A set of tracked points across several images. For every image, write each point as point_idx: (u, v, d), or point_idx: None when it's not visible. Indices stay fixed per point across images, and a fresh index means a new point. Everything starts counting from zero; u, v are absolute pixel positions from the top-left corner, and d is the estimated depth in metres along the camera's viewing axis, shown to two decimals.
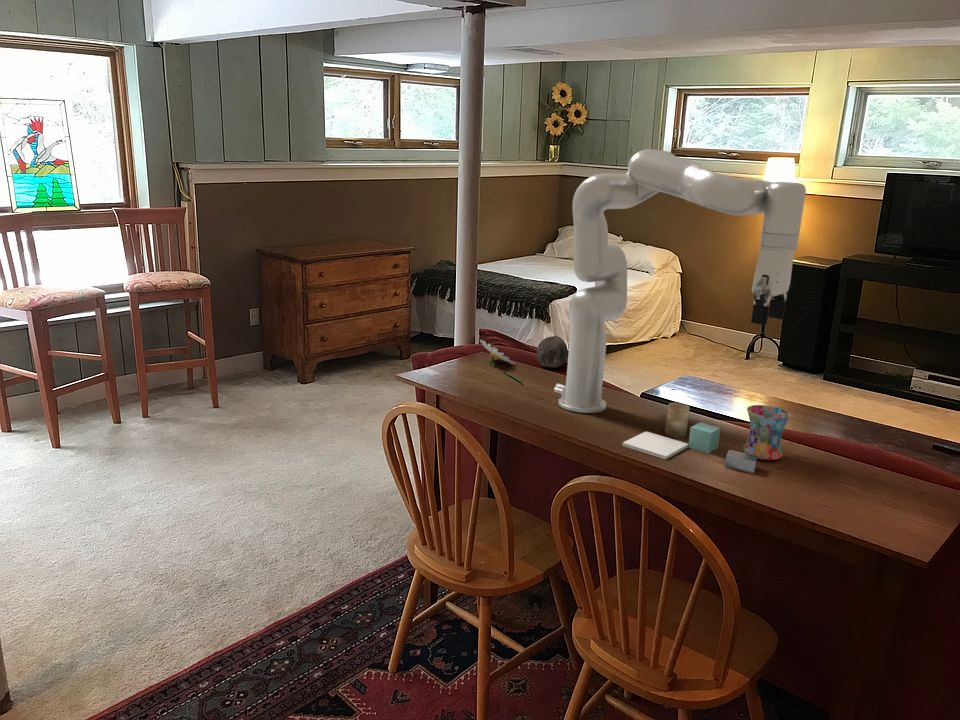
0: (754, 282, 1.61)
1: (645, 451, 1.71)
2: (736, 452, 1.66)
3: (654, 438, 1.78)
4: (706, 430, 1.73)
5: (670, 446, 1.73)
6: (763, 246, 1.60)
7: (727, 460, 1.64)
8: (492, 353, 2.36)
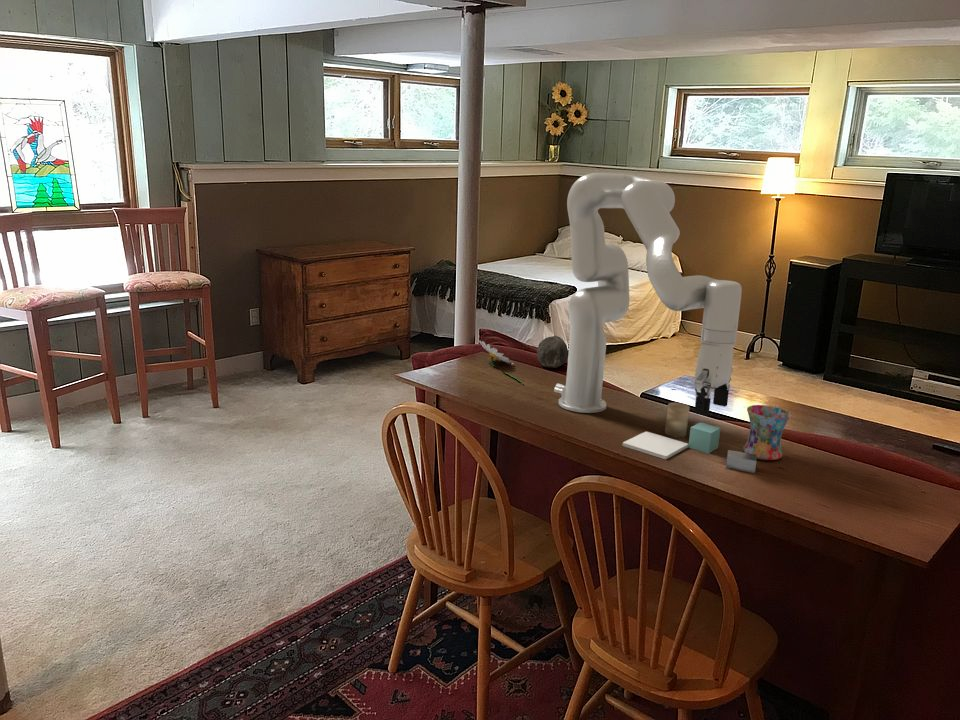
0: (696, 375, 1.69)
1: (645, 451, 1.71)
2: (735, 452, 1.66)
3: (654, 438, 1.78)
4: (706, 430, 1.73)
5: (670, 446, 1.73)
6: (703, 341, 1.68)
7: (728, 461, 1.64)
8: (491, 354, 2.35)
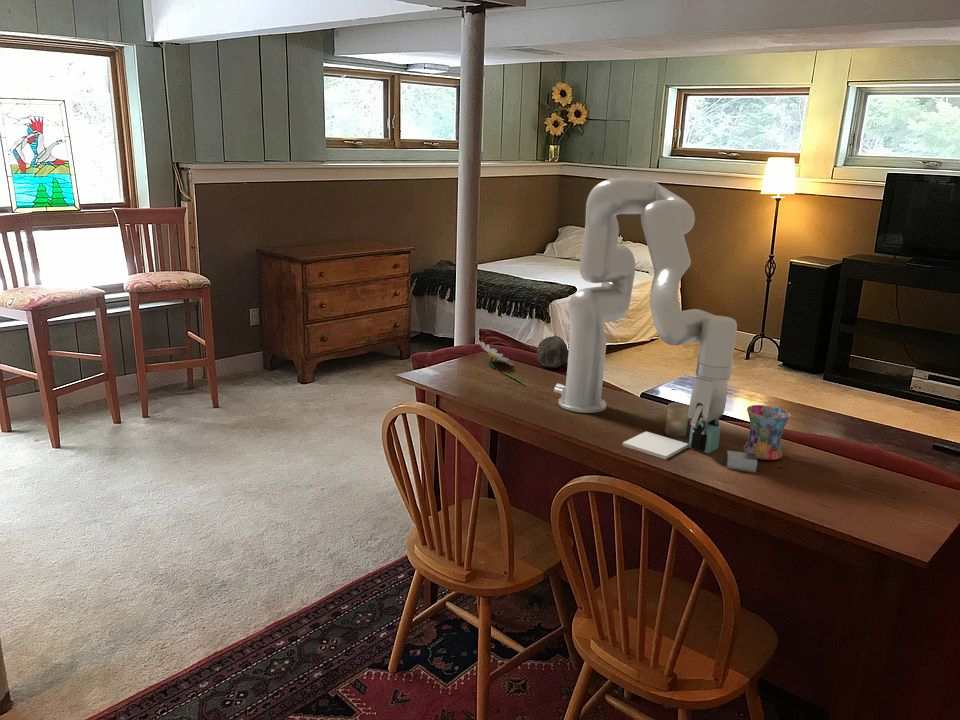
0: (690, 409, 1.71)
1: (645, 451, 1.71)
2: (734, 452, 1.66)
3: (654, 438, 1.78)
4: (706, 430, 1.73)
5: (670, 446, 1.73)
6: (698, 375, 1.70)
7: (729, 461, 1.64)
8: (491, 354, 2.35)
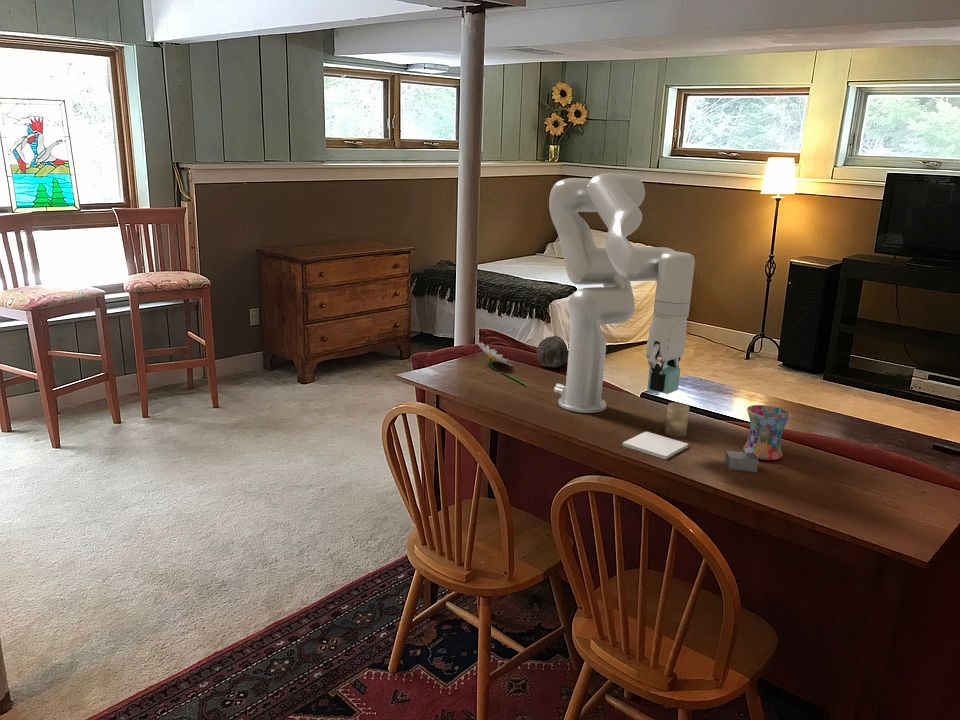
0: (647, 348, 1.66)
1: (645, 451, 1.71)
2: (734, 453, 1.66)
3: (654, 438, 1.78)
4: (665, 370, 1.68)
5: (670, 446, 1.73)
6: (655, 313, 1.66)
7: (731, 462, 1.63)
8: (490, 355, 2.34)
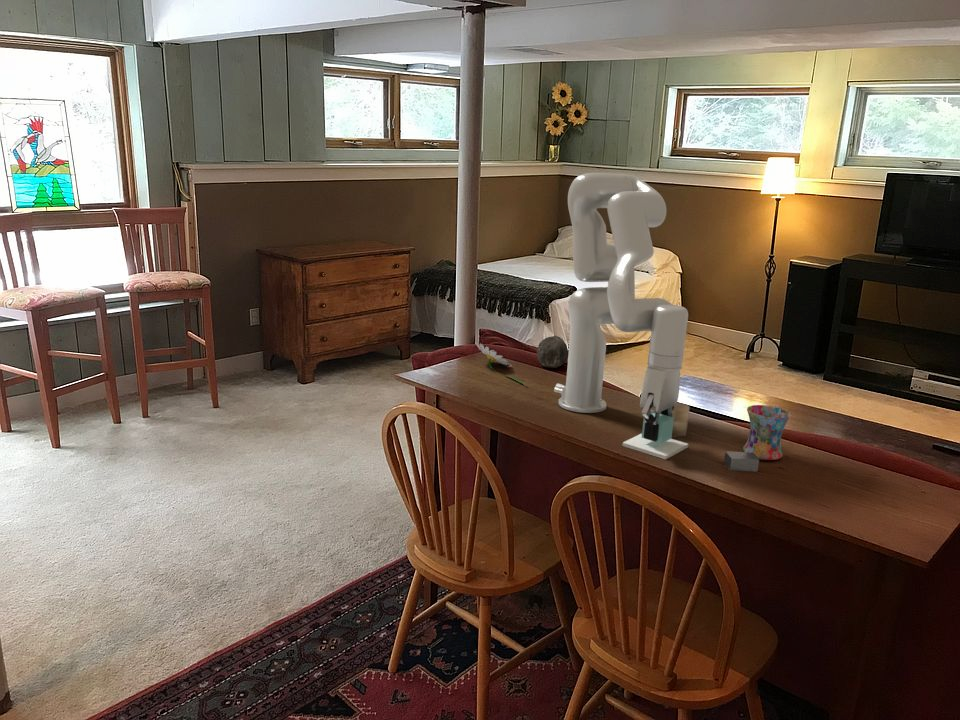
0: (641, 398, 1.70)
1: (645, 451, 1.71)
2: (734, 453, 1.66)
3: None
4: (659, 420, 1.71)
5: (670, 446, 1.73)
6: (650, 365, 1.69)
7: (732, 463, 1.63)
8: (489, 356, 2.33)
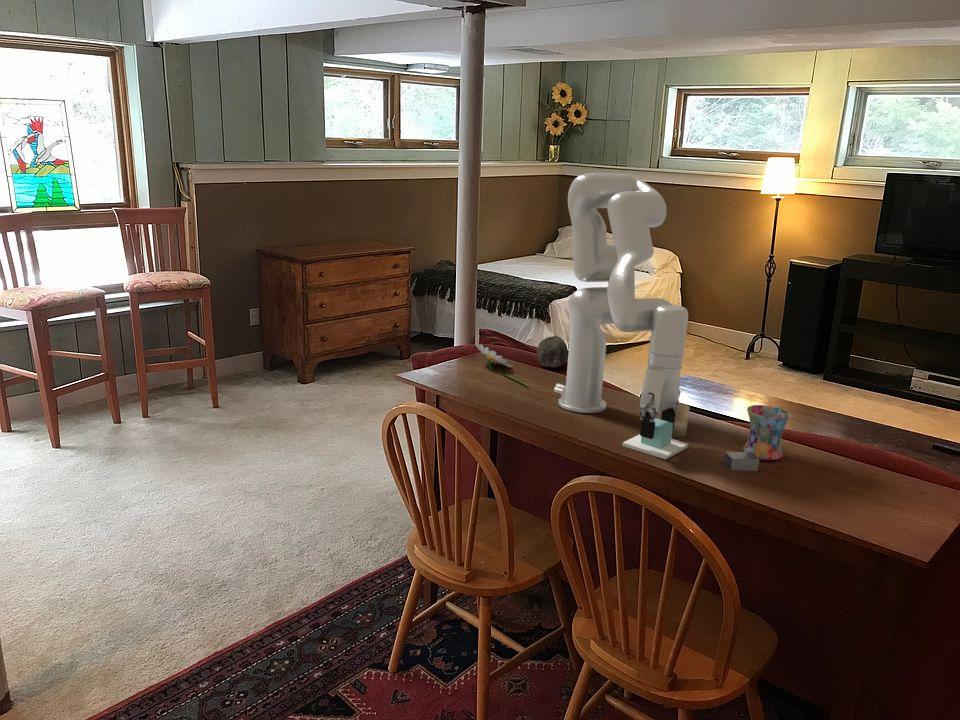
0: (641, 398, 1.70)
1: (645, 451, 1.71)
2: (733, 453, 1.66)
3: None
4: (658, 425, 1.72)
5: (670, 446, 1.73)
6: (650, 365, 1.69)
7: (733, 463, 1.63)
8: (489, 356, 2.32)
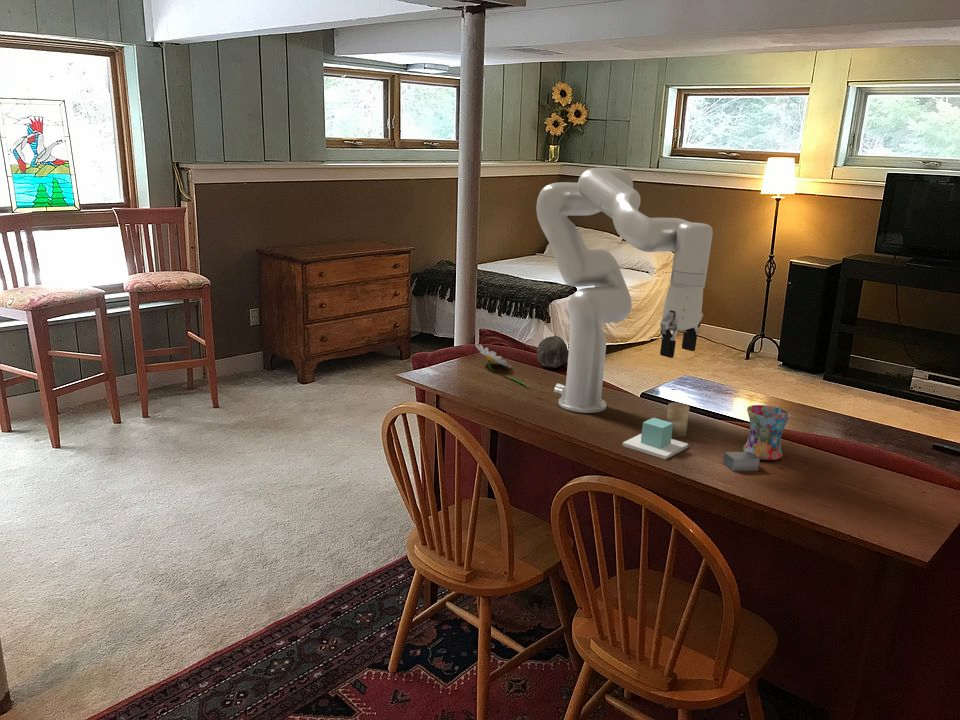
0: (663, 317, 1.69)
1: (645, 451, 1.71)
2: (733, 453, 1.65)
3: None
4: (658, 425, 1.72)
5: (670, 446, 1.73)
6: (672, 283, 1.68)
7: (734, 463, 1.63)
8: (489, 357, 2.31)
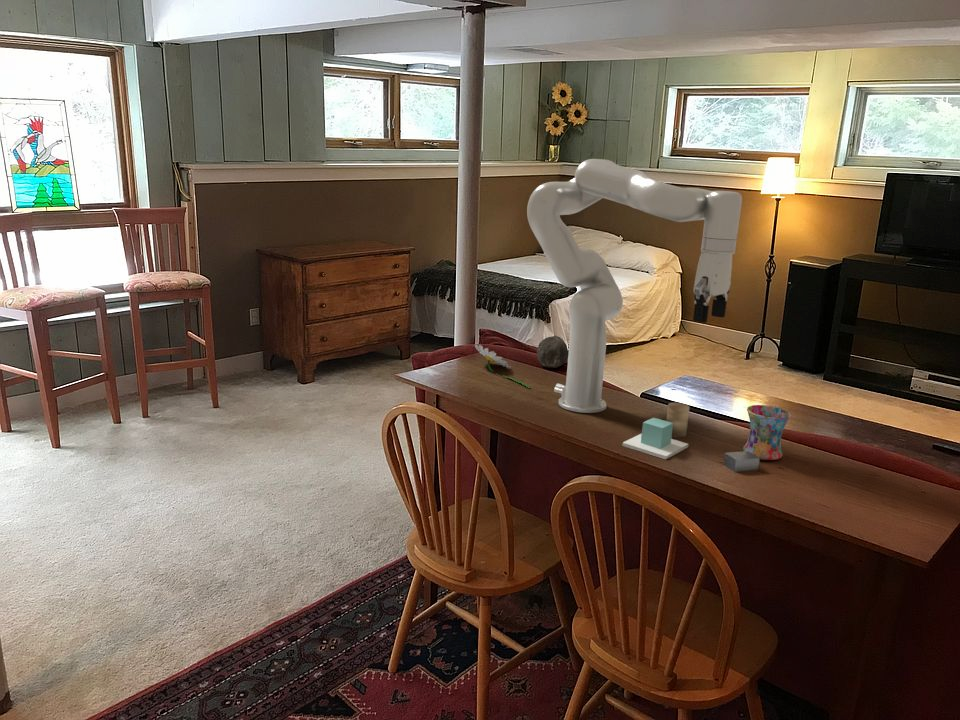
0: (695, 283, 1.74)
1: (645, 451, 1.71)
2: (733, 454, 1.65)
3: None
4: (658, 425, 1.72)
5: (670, 446, 1.73)
6: (703, 250, 1.73)
7: (736, 464, 1.62)
8: (488, 357, 2.31)
